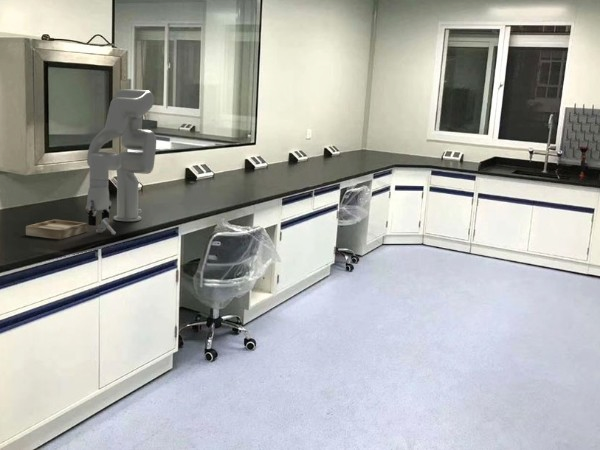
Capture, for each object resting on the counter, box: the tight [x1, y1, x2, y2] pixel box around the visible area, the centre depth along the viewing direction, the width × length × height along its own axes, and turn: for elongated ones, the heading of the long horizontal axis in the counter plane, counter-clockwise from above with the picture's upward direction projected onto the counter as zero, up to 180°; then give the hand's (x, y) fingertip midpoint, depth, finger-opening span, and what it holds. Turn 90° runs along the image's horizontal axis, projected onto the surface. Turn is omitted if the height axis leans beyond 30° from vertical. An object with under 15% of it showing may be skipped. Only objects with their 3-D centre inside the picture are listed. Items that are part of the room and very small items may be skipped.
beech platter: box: [25, 219, 88, 240], centre depth 247 cm, size 18×16×4 cm
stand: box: [96, 217, 117, 236], centre depth 251 cm, size 8×5×8 cm
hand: (98, 223), depth 253 cm, fingers open, 9 cm apart
